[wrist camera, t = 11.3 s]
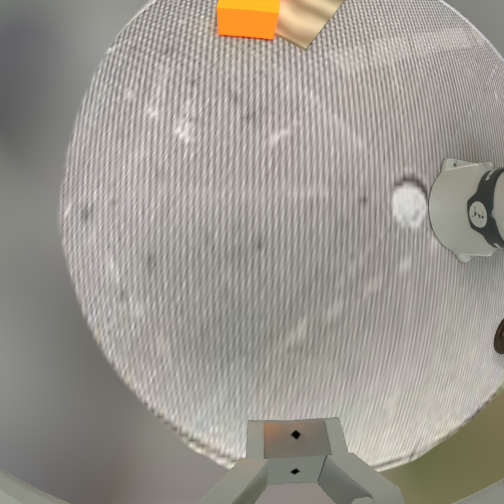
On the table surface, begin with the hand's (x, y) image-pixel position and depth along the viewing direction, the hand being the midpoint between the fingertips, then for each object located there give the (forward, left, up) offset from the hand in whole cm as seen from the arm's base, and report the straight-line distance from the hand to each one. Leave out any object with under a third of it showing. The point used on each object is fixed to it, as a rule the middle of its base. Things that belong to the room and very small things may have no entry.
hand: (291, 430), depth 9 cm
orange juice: (-8, -36, -30) cm, 48 cm away
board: (-19, -45, -34) cm, 59 cm away
